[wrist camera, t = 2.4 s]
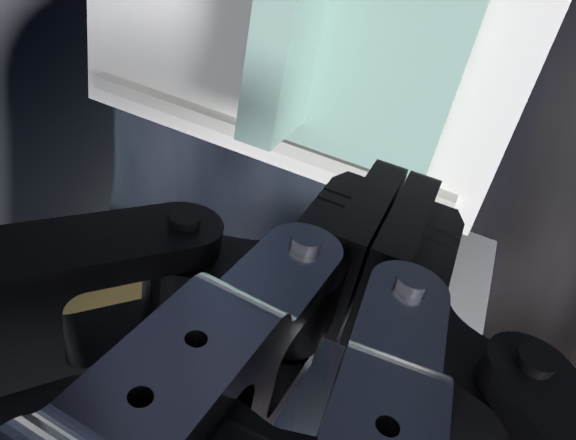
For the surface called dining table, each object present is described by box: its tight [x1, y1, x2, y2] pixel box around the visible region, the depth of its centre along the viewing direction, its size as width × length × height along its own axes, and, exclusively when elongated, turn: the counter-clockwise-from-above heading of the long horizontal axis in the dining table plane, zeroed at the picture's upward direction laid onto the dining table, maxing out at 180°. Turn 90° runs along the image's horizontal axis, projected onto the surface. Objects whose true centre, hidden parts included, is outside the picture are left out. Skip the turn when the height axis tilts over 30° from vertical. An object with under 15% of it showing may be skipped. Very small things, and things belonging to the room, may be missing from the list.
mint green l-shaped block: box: [234, 0, 490, 179], centre depth 20 cm, size 7×8×4 cm
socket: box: [87, 0, 572, 236], centre depth 25 cm, size 20×12×7 cm, turn 79°
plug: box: [449, 232, 497, 335], centre depth 27 cm, size 4×4×12 cm
